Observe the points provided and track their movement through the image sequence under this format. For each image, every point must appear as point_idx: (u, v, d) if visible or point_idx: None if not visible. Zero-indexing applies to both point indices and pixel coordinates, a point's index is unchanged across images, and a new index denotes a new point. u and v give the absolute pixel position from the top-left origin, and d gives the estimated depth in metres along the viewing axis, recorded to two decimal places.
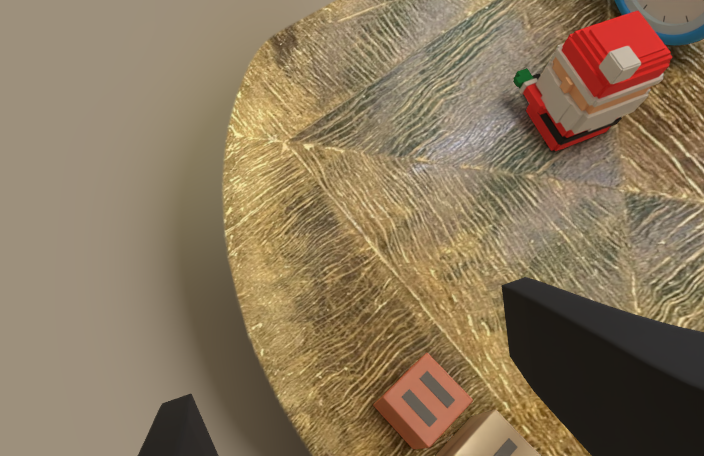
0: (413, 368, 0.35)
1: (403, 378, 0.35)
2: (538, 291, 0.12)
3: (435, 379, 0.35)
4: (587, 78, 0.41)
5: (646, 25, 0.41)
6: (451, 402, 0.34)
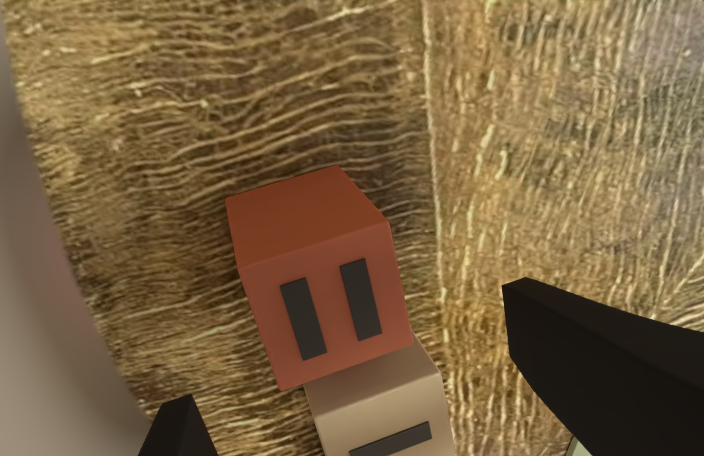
0: (339, 241, 0.14)
1: (306, 251, 0.14)
2: (538, 291, 0.12)
3: (370, 282, 0.15)
4: None
5: None
6: (372, 333, 0.16)
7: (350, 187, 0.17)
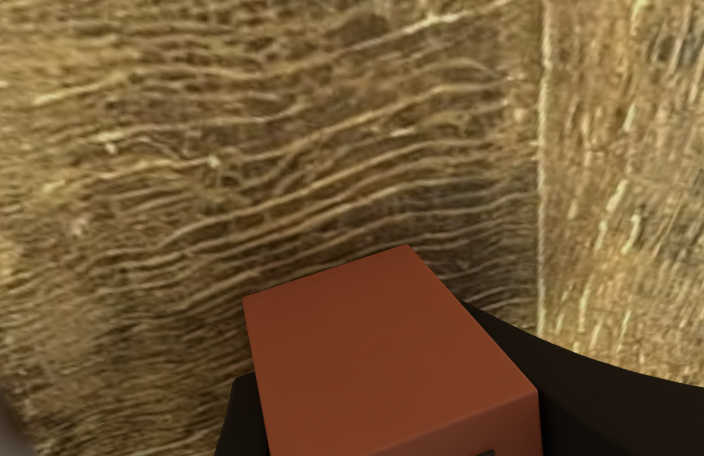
0: (454, 428, 0.08)
1: (396, 450, 0.08)
2: None
3: None
4: None
5: None
6: None
7: (440, 295, 0.11)
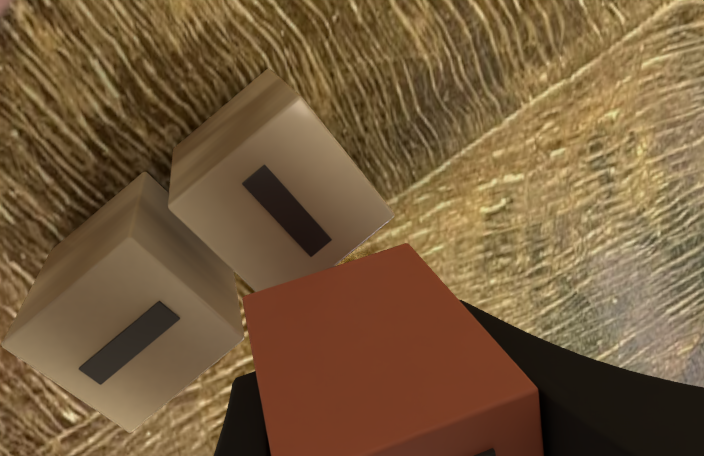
0: (455, 427, 0.08)
1: (397, 449, 0.08)
2: None
3: None
4: None
5: None
6: None
7: (441, 294, 0.11)
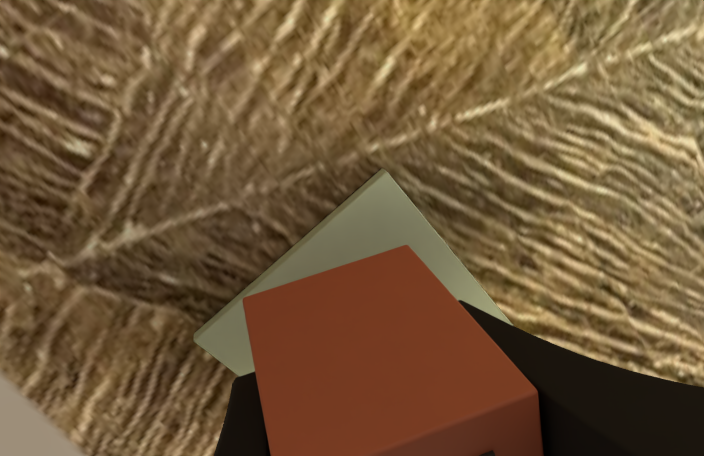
0: (455, 429, 0.08)
1: (397, 451, 0.08)
2: None
3: None
4: None
5: None
6: None
7: (441, 296, 0.11)
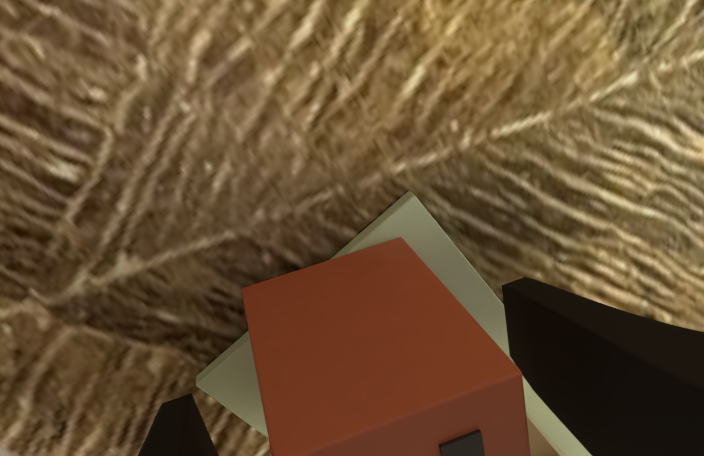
0: (442, 408, 0.08)
1: (387, 429, 0.08)
2: (538, 291, 0.12)
3: None
4: None
5: None
6: None
7: (433, 285, 0.11)
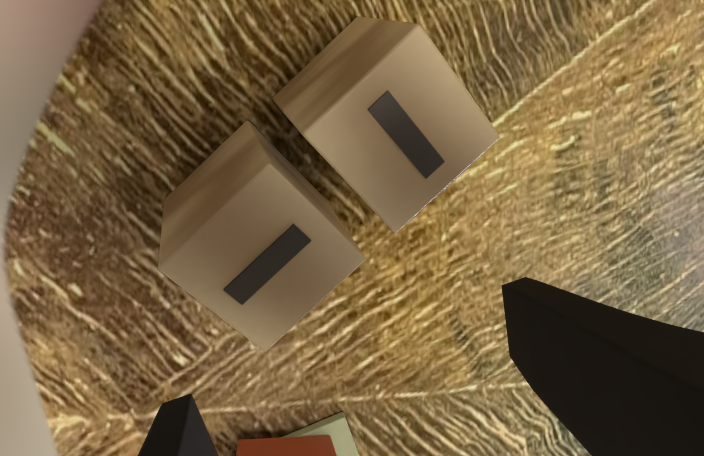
0: None
1: None
2: (538, 291, 0.12)
3: None
4: None
5: None
6: None
7: None
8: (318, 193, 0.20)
